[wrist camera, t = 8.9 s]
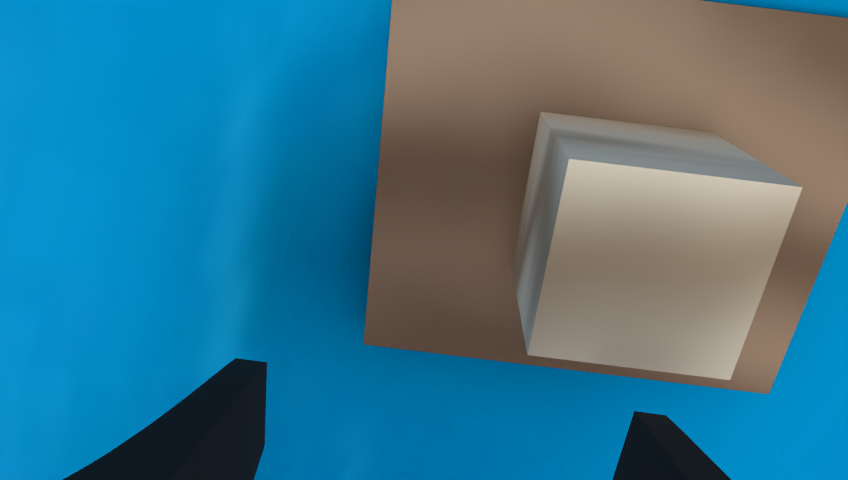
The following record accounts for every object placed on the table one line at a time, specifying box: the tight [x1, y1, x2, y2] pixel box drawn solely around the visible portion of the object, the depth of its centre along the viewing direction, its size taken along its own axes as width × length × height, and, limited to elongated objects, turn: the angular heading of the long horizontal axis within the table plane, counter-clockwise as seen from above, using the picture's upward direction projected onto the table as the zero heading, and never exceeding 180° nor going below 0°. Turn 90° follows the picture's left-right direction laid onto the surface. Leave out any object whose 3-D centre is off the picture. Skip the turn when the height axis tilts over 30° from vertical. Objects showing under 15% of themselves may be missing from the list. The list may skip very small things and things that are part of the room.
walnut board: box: [364, 0, 848, 394], centre depth 19 cm, size 12×14×1 cm
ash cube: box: [512, 112, 803, 380], centre depth 16 cm, size 5×5×5 cm
